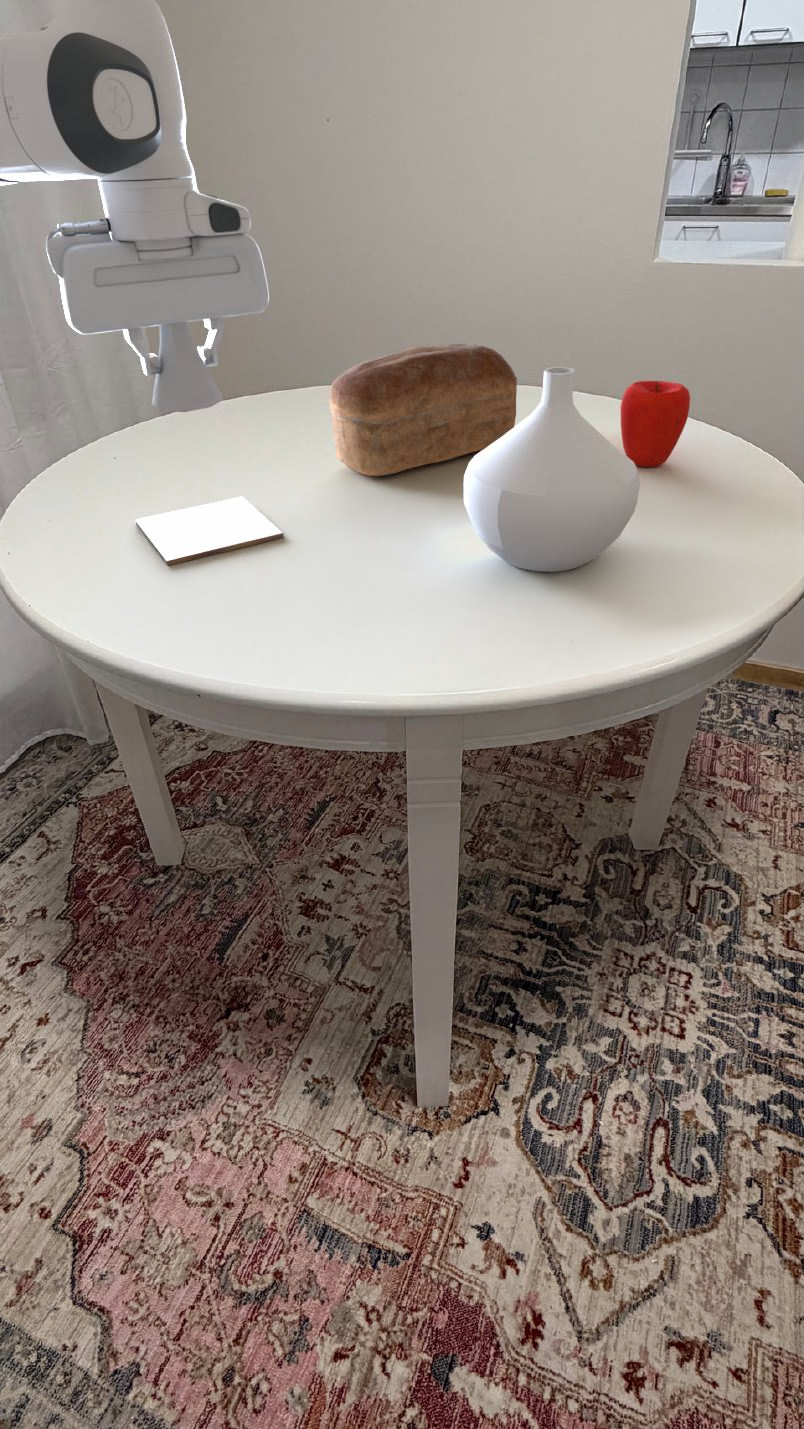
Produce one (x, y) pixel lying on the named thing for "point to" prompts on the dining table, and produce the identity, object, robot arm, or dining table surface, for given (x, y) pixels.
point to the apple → (653, 420)
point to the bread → (421, 407)
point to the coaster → (207, 530)
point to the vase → (551, 486)
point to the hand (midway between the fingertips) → (182, 369)
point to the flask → (182, 373)
